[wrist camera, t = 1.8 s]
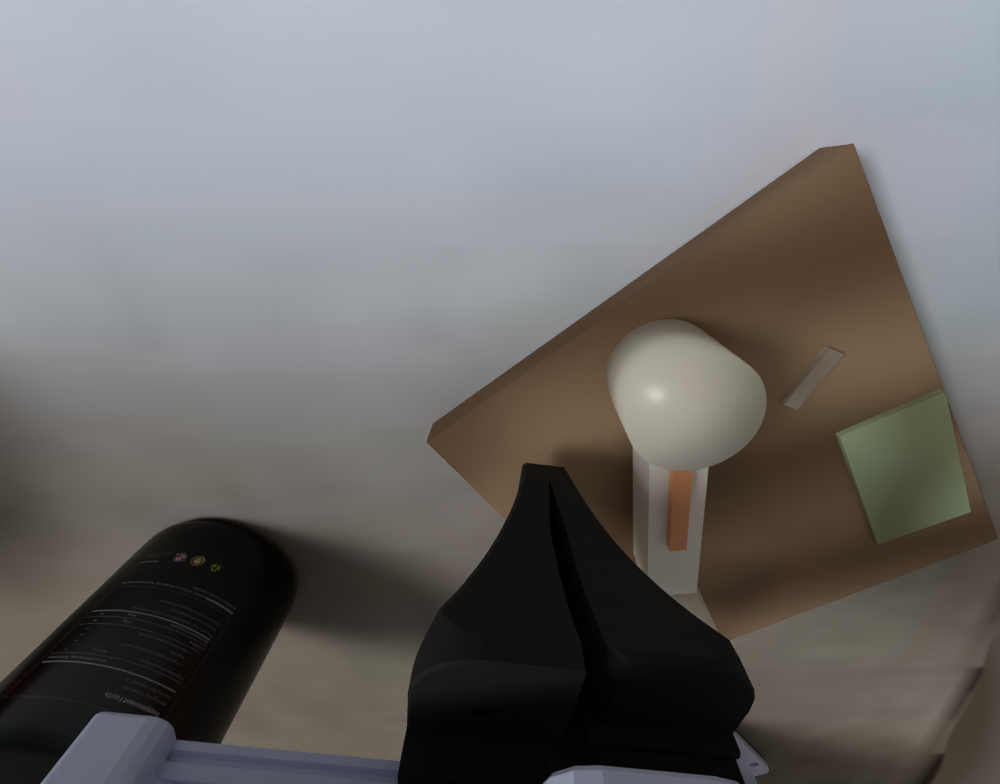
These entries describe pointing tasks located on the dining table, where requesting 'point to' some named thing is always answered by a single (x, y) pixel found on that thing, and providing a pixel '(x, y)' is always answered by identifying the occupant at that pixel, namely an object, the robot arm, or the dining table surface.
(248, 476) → the dining table surface
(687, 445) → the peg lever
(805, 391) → the brown wooden board
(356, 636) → the dining table surface
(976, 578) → the dining table surface
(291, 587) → the supplement bottle
